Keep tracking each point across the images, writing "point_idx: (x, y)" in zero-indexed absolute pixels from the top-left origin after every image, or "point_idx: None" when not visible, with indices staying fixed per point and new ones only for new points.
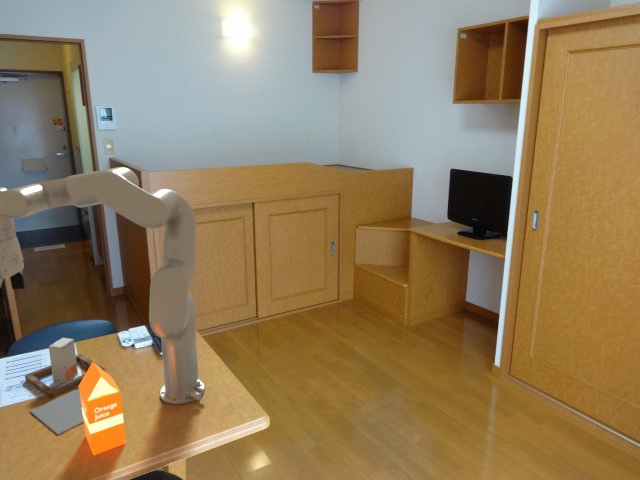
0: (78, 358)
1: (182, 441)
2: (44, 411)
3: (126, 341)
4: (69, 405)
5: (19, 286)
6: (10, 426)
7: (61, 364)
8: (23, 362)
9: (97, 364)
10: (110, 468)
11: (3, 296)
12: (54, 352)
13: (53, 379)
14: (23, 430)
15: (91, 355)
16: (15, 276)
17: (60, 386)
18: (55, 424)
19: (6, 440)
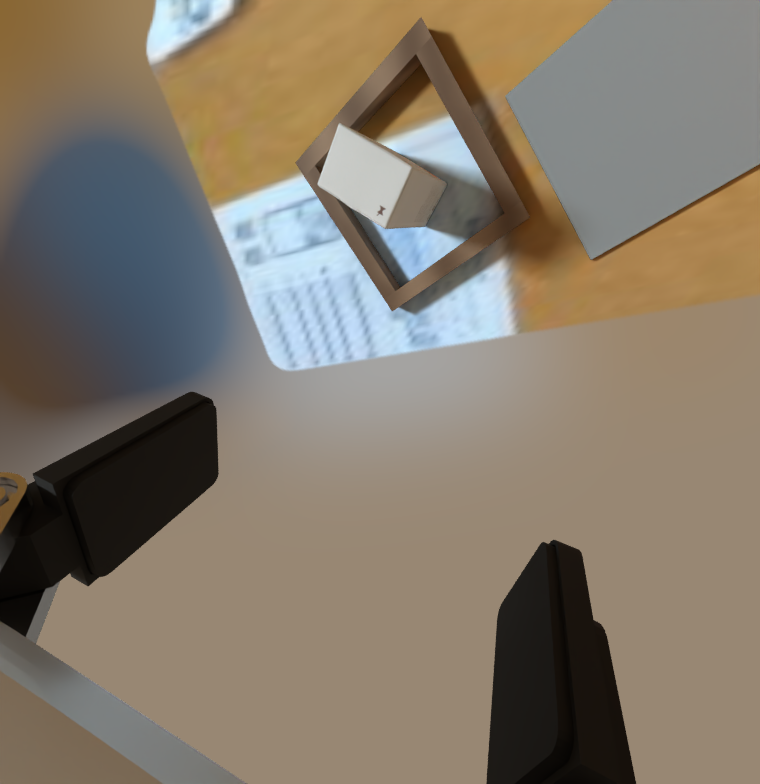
0: (317, 165)
1: None
2: (624, 209)
3: (202, 4)
4: (628, 120)
5: (199, 438)
6: (652, 300)
7: (430, 181)
8: (300, 331)
9: (382, 64)
10: None
11: (589, 607)
12: (405, 204)
13: (424, 224)
14: (707, 255)
15: (286, 132)
16: (89, 538)
17: (504, 180)
18: (755, 142)
19: (741, 295)
